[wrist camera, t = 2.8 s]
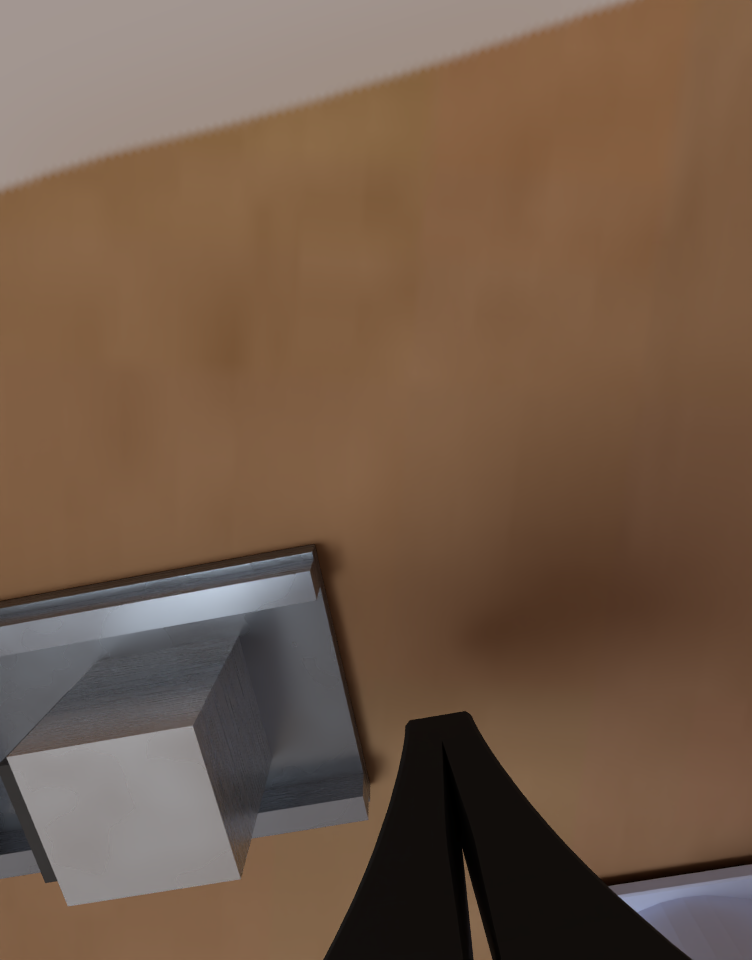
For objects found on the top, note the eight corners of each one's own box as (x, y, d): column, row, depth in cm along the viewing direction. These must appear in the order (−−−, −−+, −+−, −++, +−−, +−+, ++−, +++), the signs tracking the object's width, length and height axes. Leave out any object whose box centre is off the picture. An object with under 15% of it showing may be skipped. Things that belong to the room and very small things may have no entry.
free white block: (238, 635, 14) (192, 725, 10) (272, 758, 14) (240, 879, 11) (76, 664, 14) (-22, 761, 10) (119, 784, 15) (42, 910, 11)
